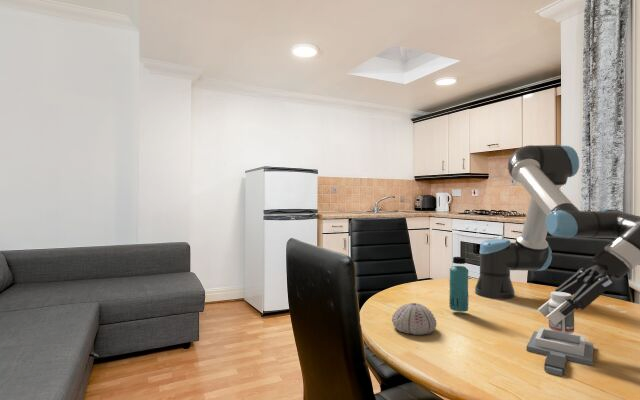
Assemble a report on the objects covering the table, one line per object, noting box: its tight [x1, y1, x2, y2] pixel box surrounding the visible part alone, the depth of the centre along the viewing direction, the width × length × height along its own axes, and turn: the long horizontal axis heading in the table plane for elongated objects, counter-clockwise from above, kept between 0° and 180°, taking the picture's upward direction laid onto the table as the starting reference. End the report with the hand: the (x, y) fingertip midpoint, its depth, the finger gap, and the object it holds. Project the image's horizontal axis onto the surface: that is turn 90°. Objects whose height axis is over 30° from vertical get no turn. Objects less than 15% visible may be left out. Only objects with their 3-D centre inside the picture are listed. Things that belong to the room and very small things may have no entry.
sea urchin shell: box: [391, 302, 437, 336], centre depth 111 cm, size 13×14×8 cm
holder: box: [526, 326, 594, 377], centre depth 92 cm, size 14×25×3 cm, turn 142°
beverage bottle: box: [448, 256, 470, 313], centre depth 127 cm, size 6×7×20 cm
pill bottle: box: [548, 291, 575, 334], centre depth 97 cm, size 6×6×10 cm
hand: (546, 316), depth 97 cm, fingers closed on pill bottle, 6 cm apart
